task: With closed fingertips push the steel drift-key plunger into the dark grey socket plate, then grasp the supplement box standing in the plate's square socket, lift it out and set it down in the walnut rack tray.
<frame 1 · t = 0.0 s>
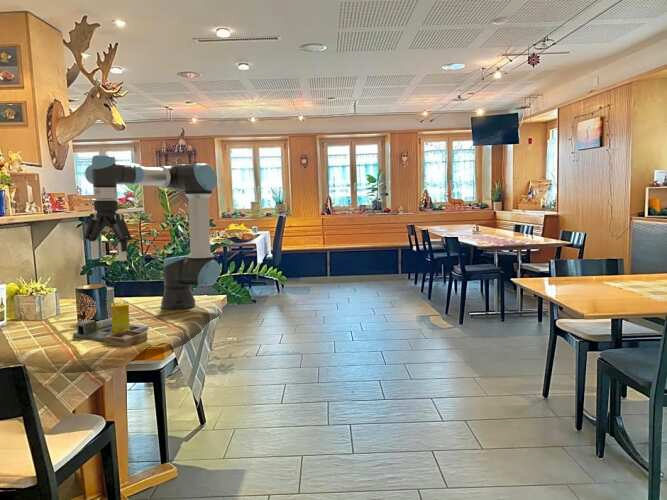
hand: (108, 259, 177), 28 cm above the table, fingers open, 13 cm apart
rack: (126, 341, 173), on the table
drift key: (106, 321, 189), point 3 cm above the table, slide at 0.0 cm
socket block: (111, 333, 185), on the table
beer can: (102, 318, 208), on the table
supplement box: (121, 333, 185), resting in socket block
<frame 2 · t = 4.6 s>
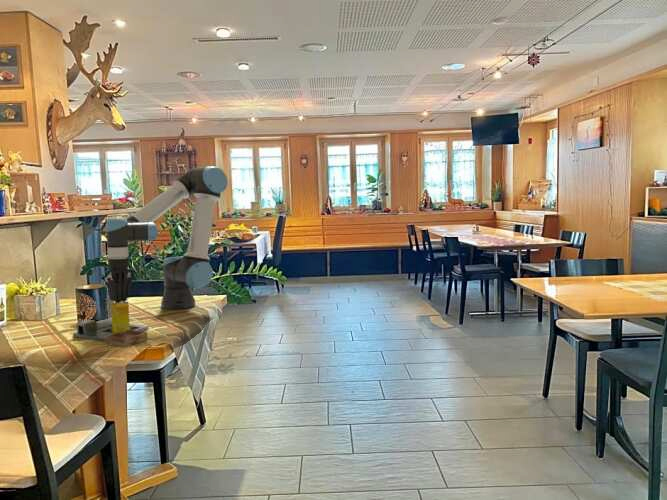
hand: (120, 317, 196), 3 cm above the table, fingers closed
drift key: (104, 322, 189), point 3 cm above the table, slide at 0.5 cm, touching gripper
everything else where it was.
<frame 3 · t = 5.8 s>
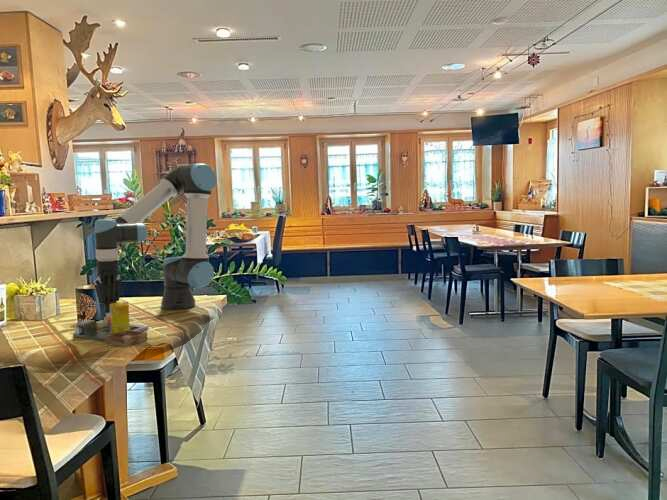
hand: (110, 320, 191), 3 cm above the table, fingers closed
drift key: (93, 325, 184), point 3 cm above the table, slide at 5.7 cm, touching gripper
everything else where it was.
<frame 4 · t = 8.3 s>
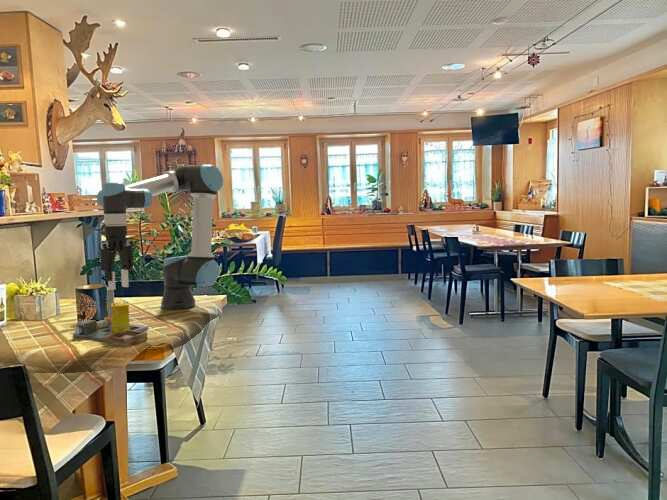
hand: (118, 287, 183), 17 cm above the table, fingers open, 5 cm apart
drift key: (93, 325, 184), point 3 cm above the table, slide at 5.7 cm
everything else where it was.
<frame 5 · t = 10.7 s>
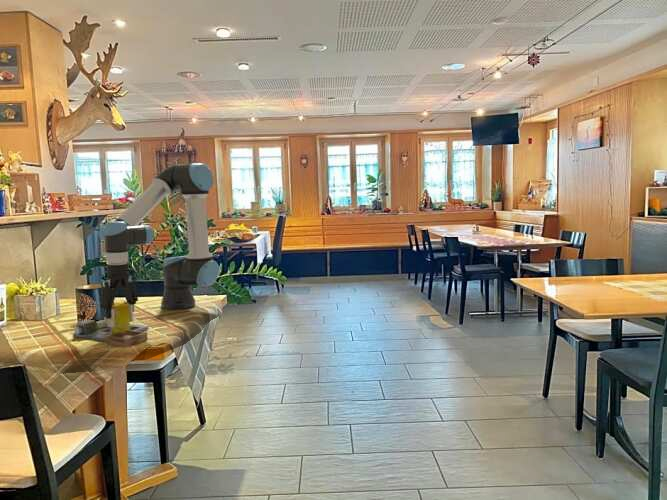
hand: (120, 323, 185), 3 cm above the table, fingers closed on supplement box, 8 cm apart
supplement box: (121, 333, 185), resting in socket block, touching gripper
everything else where it was.
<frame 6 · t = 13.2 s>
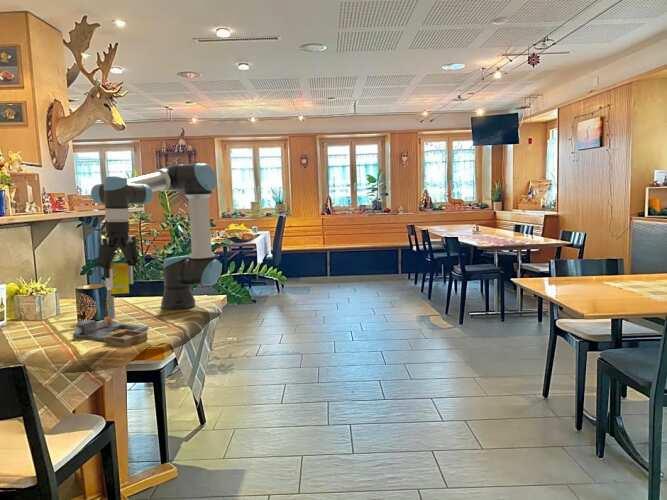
hand: (119, 285, 176), 19 cm above the table, fingers closed on supplement box, 8 cm apart
supplement box: (120, 295, 176), point 16 cm above the table, touching gripper
everything else where it was.
when the fingers open (6 cm above the table, at t = 15.9 s): supplement box stays where it is, resting on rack.
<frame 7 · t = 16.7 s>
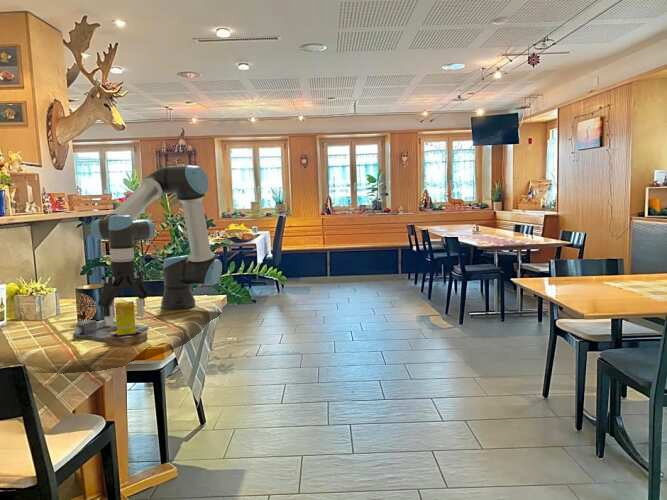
hand: (125, 320, 173), 7 cm above the table, fingers open, 13 cm apart
supplement box: (126, 334, 173), point 2 cm above the table, touching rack
everything else where it was.
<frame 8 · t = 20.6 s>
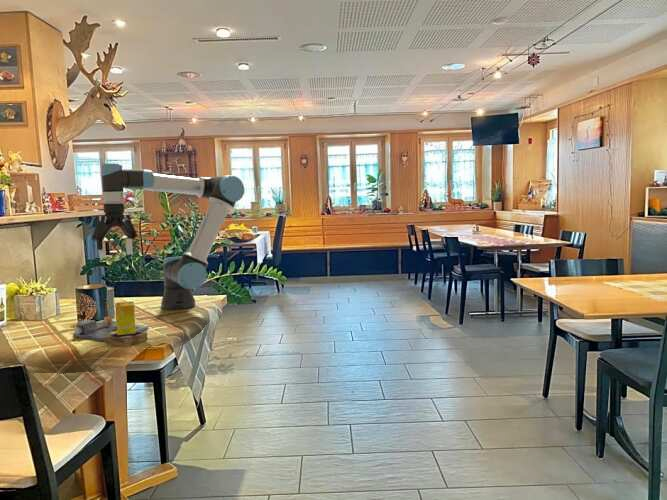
hand: (116, 256, 199), 27 cm above the table, fingers open, 13 cm apart
nothing on the table moved.
at the end: drift key slide at 5.7 cm; supplement box 0.0 cm off-centre on the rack, point 2.4 cm above the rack's base; supplement box tilted 0° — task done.
